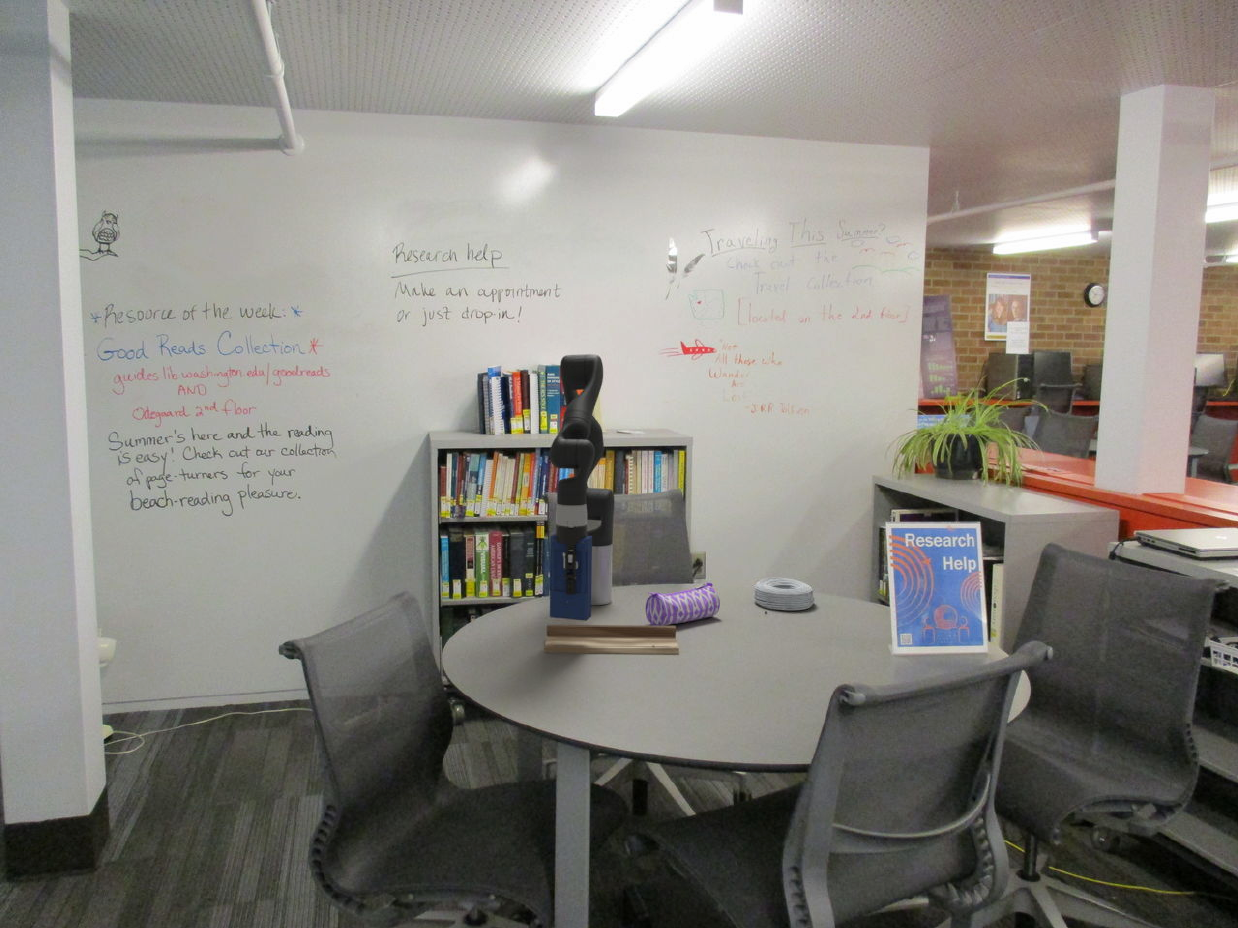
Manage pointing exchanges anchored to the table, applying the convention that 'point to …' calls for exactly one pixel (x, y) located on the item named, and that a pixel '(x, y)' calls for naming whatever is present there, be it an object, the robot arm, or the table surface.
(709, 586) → the pencil case
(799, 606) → the cable
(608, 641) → the guide board
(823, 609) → the table surface
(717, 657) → the table surface
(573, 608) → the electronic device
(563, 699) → the table surface
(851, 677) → the table surface
